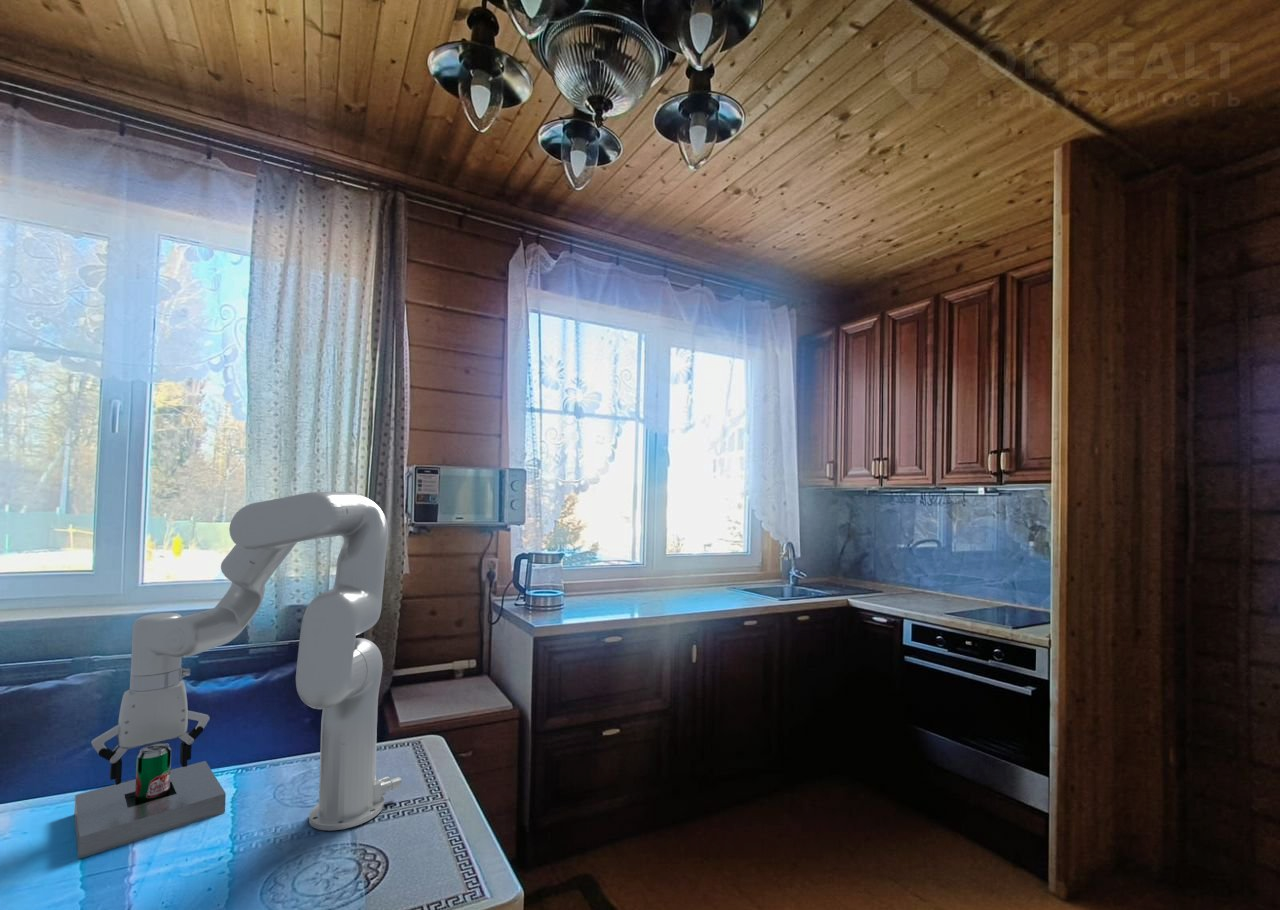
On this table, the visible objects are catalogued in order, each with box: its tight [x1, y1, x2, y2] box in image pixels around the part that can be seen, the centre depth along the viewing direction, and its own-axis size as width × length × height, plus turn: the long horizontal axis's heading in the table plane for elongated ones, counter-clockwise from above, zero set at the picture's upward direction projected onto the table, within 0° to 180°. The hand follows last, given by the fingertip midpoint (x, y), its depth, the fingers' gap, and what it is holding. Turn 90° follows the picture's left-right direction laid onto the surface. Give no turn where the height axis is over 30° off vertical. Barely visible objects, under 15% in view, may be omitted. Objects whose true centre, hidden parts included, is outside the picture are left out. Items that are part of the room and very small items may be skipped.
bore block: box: [73, 760, 227, 860], centre depth 111 cm, size 20×20×4 cm
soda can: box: [135, 742, 172, 806], centre depth 112 cm, size 5×5×12 cm
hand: (151, 773), depth 112 cm, fingers open, 9 cm apart
